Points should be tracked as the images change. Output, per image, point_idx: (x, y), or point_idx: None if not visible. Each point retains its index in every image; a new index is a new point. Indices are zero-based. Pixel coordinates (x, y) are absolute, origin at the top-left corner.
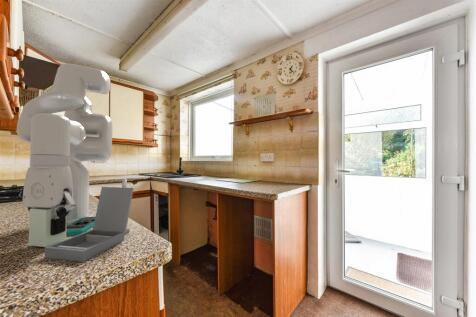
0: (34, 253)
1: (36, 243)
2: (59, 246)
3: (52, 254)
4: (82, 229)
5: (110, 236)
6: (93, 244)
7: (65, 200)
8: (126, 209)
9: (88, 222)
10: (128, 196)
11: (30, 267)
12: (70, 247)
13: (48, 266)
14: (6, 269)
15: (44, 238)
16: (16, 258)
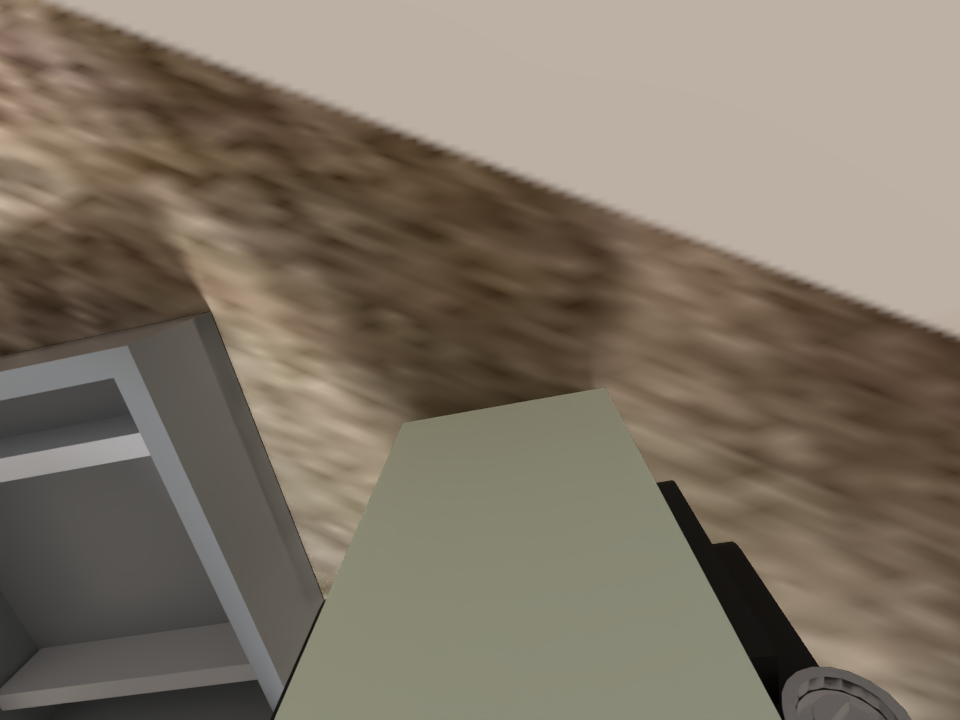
0: (473, 358)
1: (507, 415)
2: (141, 436)
3: (90, 345)
4: None
5: (46, 701)
6: (159, 594)
7: None
8: None
9: None
10: None
11: (172, 210)
12: (32, 458)
13: (75, 276)
14: (299, 106)
15: (401, 464)
16: (494, 247)
